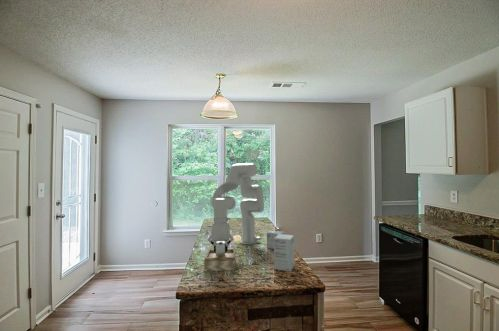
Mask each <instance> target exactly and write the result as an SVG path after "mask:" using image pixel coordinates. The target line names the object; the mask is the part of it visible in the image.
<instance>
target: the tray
mask: <svg viewBox="0 0 499 331" xmlns="http://www.w3.org/2000/svg"><path fill="white" fill-rule="evenodd" d="M218 270H219V271H236V248H229V249H228V251H227V252H226V253H225V256H216V254H215V252H214V249H207V252H206V254H205V257H204V271H205V272H211V271H212V272H213V271H215V272H216V271H218Z"/></svg>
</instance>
